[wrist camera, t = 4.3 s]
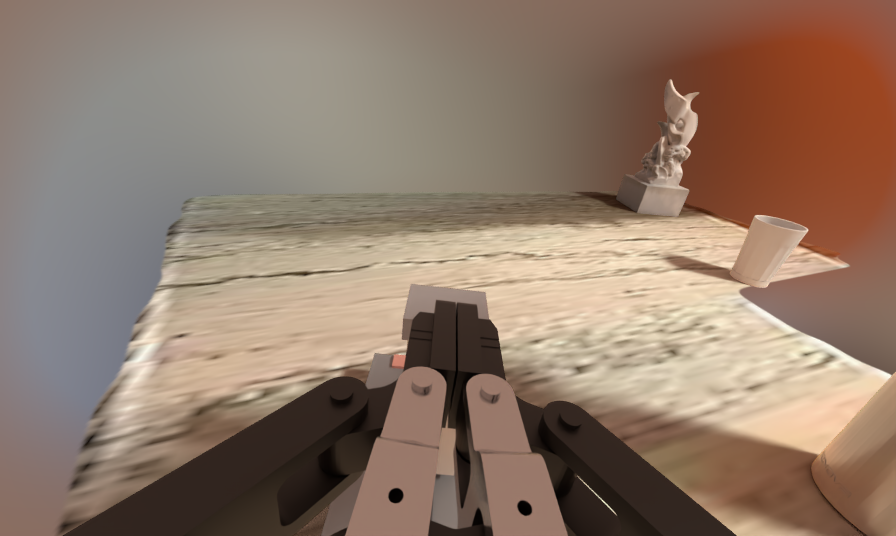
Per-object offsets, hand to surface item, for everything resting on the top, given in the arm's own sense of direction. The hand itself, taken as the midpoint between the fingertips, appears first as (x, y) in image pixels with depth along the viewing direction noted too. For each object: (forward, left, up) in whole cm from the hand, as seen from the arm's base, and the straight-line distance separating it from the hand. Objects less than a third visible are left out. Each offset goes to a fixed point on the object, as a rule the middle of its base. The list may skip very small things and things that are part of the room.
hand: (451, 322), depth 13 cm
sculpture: (-24, -114, -21) cm, 119 cm away
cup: (-39, -71, -21) cm, 84 cm away
